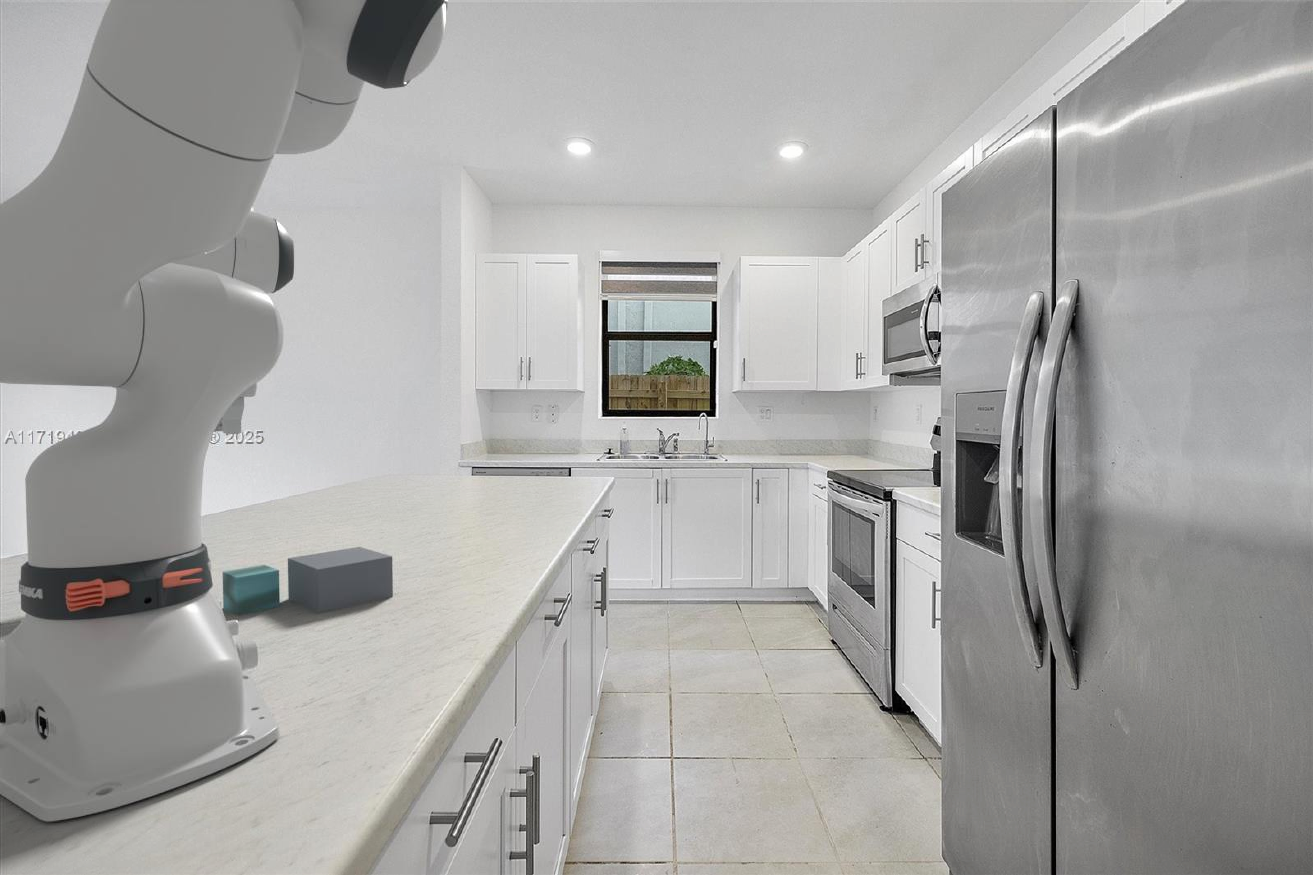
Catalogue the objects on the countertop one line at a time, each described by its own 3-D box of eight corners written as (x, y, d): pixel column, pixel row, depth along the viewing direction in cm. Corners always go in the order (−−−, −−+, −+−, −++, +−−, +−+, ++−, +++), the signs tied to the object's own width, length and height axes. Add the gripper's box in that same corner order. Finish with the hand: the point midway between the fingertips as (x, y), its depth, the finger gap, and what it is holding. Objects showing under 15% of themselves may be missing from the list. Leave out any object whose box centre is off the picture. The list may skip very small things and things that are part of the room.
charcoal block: (392, 598, 90) (392, 556, 90) (318, 615, 83) (318, 569, 82) (360, 586, 97) (359, 546, 96) (288, 600, 89) (287, 558, 89)
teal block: (279, 606, 86) (279, 570, 85) (237, 616, 82) (236, 577, 82) (264, 600, 89) (263, 564, 89) (223, 608, 85) (222, 571, 85)
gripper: (270, 321, 77) (272, 435, 78) (233, 333, 92) (235, 429, 92) (207, 315, 73) (209, 436, 73) (179, 329, 87) (181, 430, 88)
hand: (224, 432), depth 83 cm, fingers open, 8 cm apart
